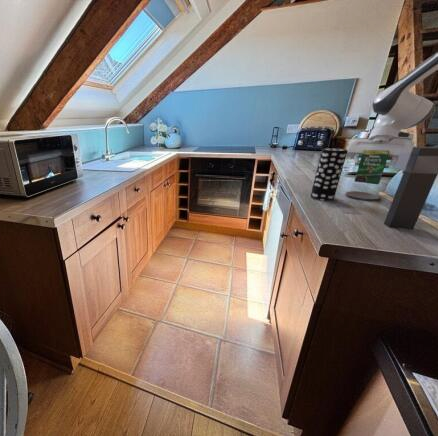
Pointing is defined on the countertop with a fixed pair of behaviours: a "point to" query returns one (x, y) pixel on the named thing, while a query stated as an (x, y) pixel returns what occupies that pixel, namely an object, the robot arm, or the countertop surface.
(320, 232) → the countertop surface
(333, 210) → the countertop surface
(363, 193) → the coaster
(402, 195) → the tall grey box
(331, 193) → the spotted tube
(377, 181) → the coffee box
